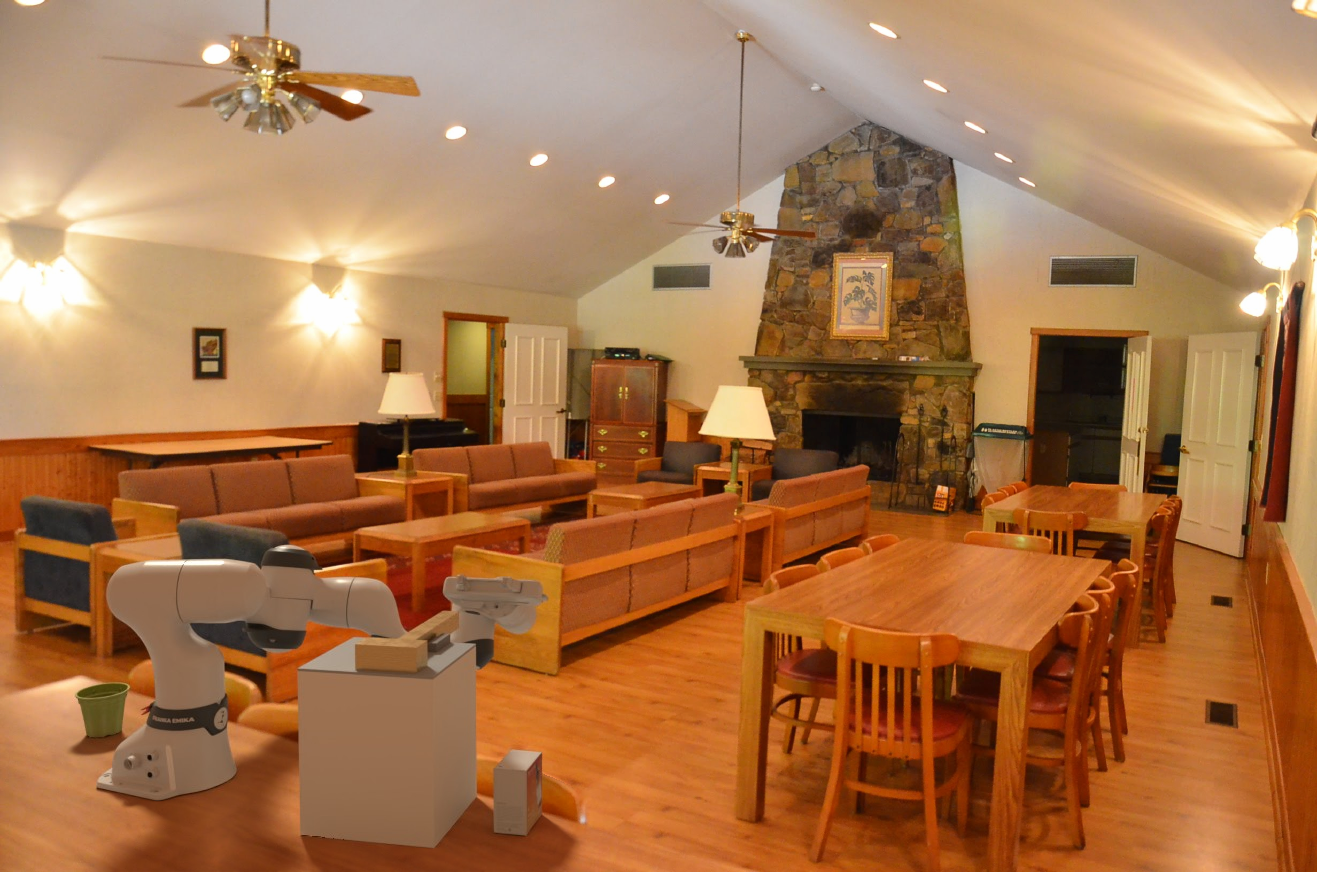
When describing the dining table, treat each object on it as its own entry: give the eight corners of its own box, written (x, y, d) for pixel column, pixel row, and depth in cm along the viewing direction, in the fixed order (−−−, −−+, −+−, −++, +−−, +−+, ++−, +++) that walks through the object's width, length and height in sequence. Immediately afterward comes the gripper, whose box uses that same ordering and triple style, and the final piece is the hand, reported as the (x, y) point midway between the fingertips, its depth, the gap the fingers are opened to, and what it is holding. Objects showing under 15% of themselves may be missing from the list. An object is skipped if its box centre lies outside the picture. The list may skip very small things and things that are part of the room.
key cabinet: (300, 835, 148) (297, 658, 146) (356, 786, 166) (353, 628, 164) (434, 847, 144) (432, 666, 143) (476, 796, 162) (475, 634, 160)
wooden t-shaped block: (355, 669, 146) (354, 644, 146) (424, 626, 172) (424, 604, 171) (416, 673, 144) (416, 647, 144) (477, 628, 170) (477, 606, 170)
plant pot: (113, 741, 185) (112, 698, 185) (65, 741, 185) (64, 697, 185) (140, 724, 194) (139, 682, 194) (94, 723, 195) (93, 682, 194)
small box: (526, 837, 148) (526, 770, 147) (492, 833, 149) (492, 767, 149) (543, 814, 156) (543, 751, 155) (510, 810, 157) (510, 748, 156)
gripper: (548, 616, 197) (531, 597, 185) (454, 611, 201) (431, 592, 188) (552, 586, 200) (536, 566, 188) (459, 582, 203) (437, 562, 191)
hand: (482, 579), depth 188 cm, fingers open, 8 cm apart
